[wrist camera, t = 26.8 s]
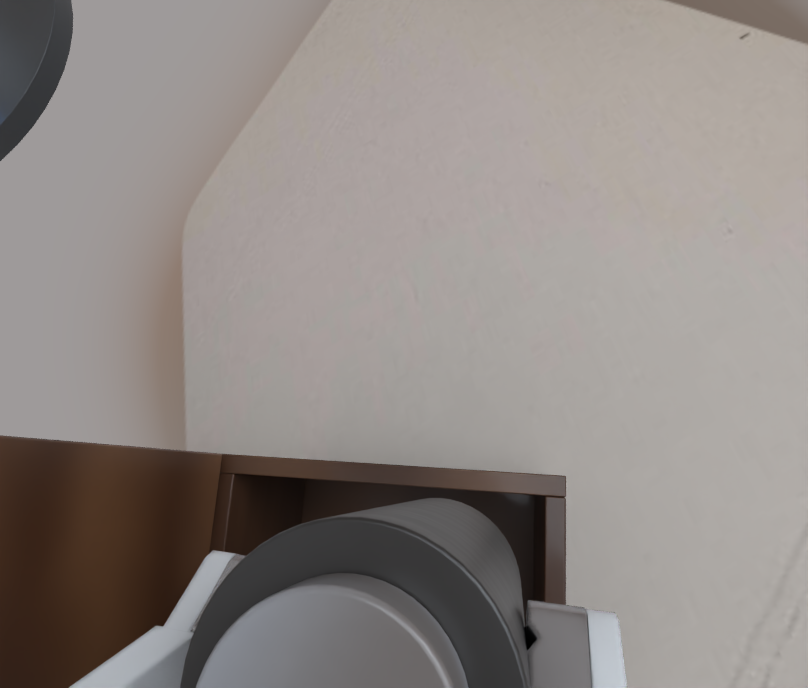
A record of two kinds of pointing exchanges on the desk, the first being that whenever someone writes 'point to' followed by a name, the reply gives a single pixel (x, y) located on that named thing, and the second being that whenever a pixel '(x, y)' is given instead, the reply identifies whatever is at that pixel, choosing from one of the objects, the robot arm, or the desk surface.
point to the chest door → (94, 550)
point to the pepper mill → (369, 606)
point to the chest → (386, 485)
